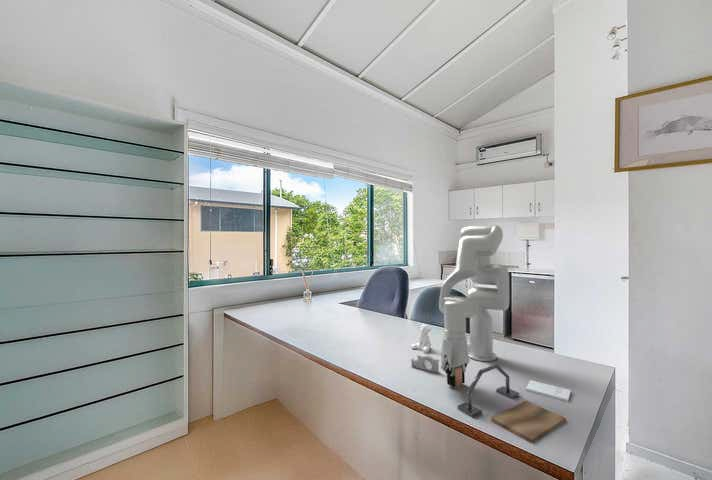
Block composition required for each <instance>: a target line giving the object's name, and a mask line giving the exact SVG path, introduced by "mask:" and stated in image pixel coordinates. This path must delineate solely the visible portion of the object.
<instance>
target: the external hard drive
mask: <svg viewBox="0 0 712 480" xmlns="http://www.w3.org/2000/svg"><path fill="white" fill-rule="evenodd" d="M526 385H527V386H526V387H525V391H526V392H529V393H532V394H535V395H536V394H537V395H540V396H543V397H548V398H551V399H553V400H554V399H555V400H559V401H563V402H567V403H569V401H570V396H571V393H572V392H571V391H572V390H571V389H567V388H564V387H563V388H562V387H559V386H555V385H552V384H548V383H543V382H539V381H535V380H531V379H530V380H529V382H528V384H526Z"/></svg>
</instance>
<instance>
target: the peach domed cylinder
mask: <svg viewBox="0 0 712 480" xmlns="http://www.w3.org/2000/svg"><path fill="white" fill-rule="evenodd" d="M449 370H450V371H451V368H450V369H449ZM454 376H455V387H452V386H450V387H451V388H452V389H462V388H463V383H462V366H458V367H455V369H454Z"/></svg>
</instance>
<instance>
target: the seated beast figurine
mask: <svg viewBox="0 0 712 480" xmlns="http://www.w3.org/2000/svg"><path fill="white" fill-rule="evenodd" d="M431 330H432V327H431V328H430V327H429V326H428V325H426V324H421V325H420V328H419V333H420V334H419V335H418V342H416V343H413V344H411V345H410V349H411V350H417V349H418V351H421V352H423V353H424V354H428V353H429V351H430V349H431V347H432V343H431V341H430V339H429V338H430V336H429V335H428V334H429V333H430V331H431ZM427 352H428V353H427Z"/></svg>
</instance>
